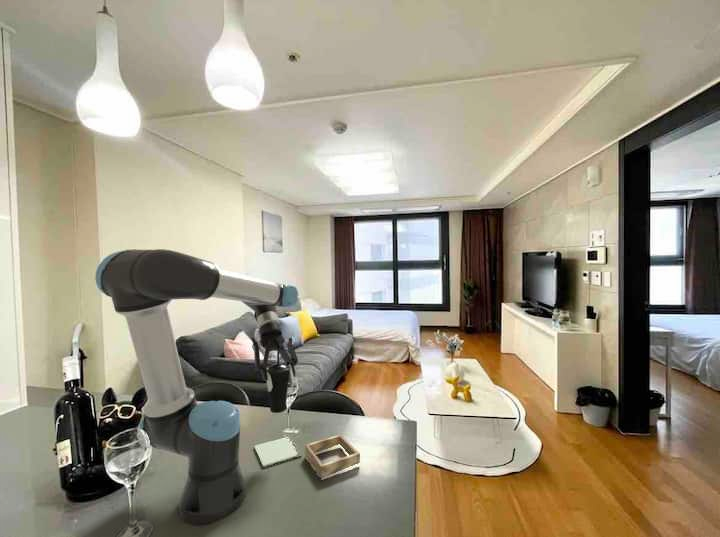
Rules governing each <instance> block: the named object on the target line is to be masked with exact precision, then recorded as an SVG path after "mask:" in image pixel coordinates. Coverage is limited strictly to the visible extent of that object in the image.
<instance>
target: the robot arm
mask: <svg viewBox="0 0 720 537" xmlns="http://www.w3.org/2000/svg"><path fill="white" fill-rule="evenodd" d="M94 278H95V284H96V286H97V288H98V290H99V291H100V292H101V293H102V294H104V295H105V296H107V297H110V298H111V300H112V304H113V307H114V311H115V313H116V314H120V315H122V316H123V317H125V319H126V323H127V327H128V330H129V334H130V337H131V342H132V344H133V350H134V353H135V355H136V360H137V363H138V367H139V370H140V374H141V377H142V382H143V384H144V389H145V393H146V396H147V399H148V401H147V403H146V404H145V406H144V409H143V414H142V417H143V418H142V420H140V421H139V430H140V429H142V430H144V431H145V432H146V433H147V435H148V437H149V440H150V445H151V446H150V445H149V446H150V447H152V448H154V449H157V450H163V451H166V452H170V453H172V454H176V455H180V456H183V457H186V458H187V459H188V461H187V462H188V463H187V464H188V465H187V471H188V472H187V478H186V481H185V484H184V487H183V490H182V493H181V496H180V498H179V503H178V504H179V505H178V508H179V510H178V512H179V513H178V514H179V517H180V518H181V519H182V521H184V522H185V523H188V524H191V525H206V524H211V523H215V522H218V521H221V520H222V519H225V518H227V517H228V516H230V515H232V514H233V513H234V512H236V510H238V508H240V507H241V505H242V504H243V502H244V500H245V497H246V481H245V478H244V475H243V472H242V470H241V467H240V464H239V463H240V437H241V436H240V434H241V420H240V419H241V418H240V411H239V408H238V407H237V406H236V405H235V404H233V403H231V402H229V401H226V400H217V401H216V400H209V401H204V402H202V403H199V404H198V402H197V399H196V394H195V391H194V390H193V389H192V388H190V387H187V384H186V381H185V377H184V372H183V368H182V364H181V360H180V356H179V352H178V347H177V343H176V340H175V334H174V331H173V326H172V323H171V318H170V314H169V311H168V306H169V304H170V303H171V302H172V301H173V300H200V301H205V300H209V299H210V298H215V299H224V300H231V301H236V302H237V301H238V302H242V303H243V304H244V305H245V306H247V307H248V308H250V309H251V310H252V311H253V312H254V313H255V316H256V321H257V322H256V323H257V327H258V328H257V329H258V332H259V333H258V334H259V338H260V340H259V341H253V343H252V345H251V348H252V349H253V350H252V351H253V352H254V353H253V354H254V355H253V357H254V367H255V368H254V370H255V372H260V373H261V376H262V380H263V381H264V382H266V386H267V391H268V393H269V391H271V390H272V387H273V386H272V381H271V376H270V374H269V373H268V372H267V371H266V368H267V367H268V366H267V365H268V360H269V355H270V352H273V351H275V352H277V348H279V356H281V358H282V359H283V361H284V362H285V363H284V364H286V365H288V366H290V370H289V379H288V383H289V386H290V388H293V387H294V386H295V384H296V381H295V378H294V377H295V376H296V370H295V367H296V366H297V365H298V363H299V359H298V356H297V353H296V350H295V348H294V344H293V338H292V337H289V338H285V337H284V336H283V332H282V328H281V325H280V324H281V322H280V320H279V319H280V318H279V314H278V311H277V307H280V308H291V307H294V306H295V305H296V304H297V302H298V300H299V299H298V298H299V292H298V289H297V286H295V285H293V284H282V283H277V282H274V281H269V280H266V279H261V278H259V277H253V276H251V275H247V274H243V273H238V272H235V271H231V270H227V269H223V268H219V266H218V265H217V264H216V263H214V262H212V261H208V260H205V259H201V258H199V257H196V256H193V255H189V254H185V253H184V252H183V253H182V252H178V251H175V250H171V249H160V248H159V249H157V248H155V249H134V248H133V249H125V250H120V251H116V252H112V253H111V254H108V255H107V256H105V258H103V259H102V261H101V262H100V263H99V264H98V266H97V269H96V271H95V277H94ZM284 344H285V346H286V347H287V350H286V349H285V346H284ZM261 347H262V348H263V349H264V356H263V360H262V365H261V357H260V356H261V355H260V348H261ZM268 369H269V368H267V370H268ZM232 512H233V513H232ZM229 514H230V515H229ZM224 517H225V518H224Z"/></svg>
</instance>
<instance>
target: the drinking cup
mask: <svg viewBox="0 0 720 537" xmlns="http://www.w3.org/2000/svg"><path fill="white" fill-rule="evenodd" d="M267 368H269V369H268V370H267ZM289 370H290V366H288V365H287V364H286V363H283V362H280V353H279V348H277V351H276V363H273V364H271V365H269V366H267V367H266V371H267V372H268V373H269V374H270V376H271V381H272V386H273V387H272V390H271V391H269V392H268V397H269V408H270V409H269V410H270V412H271V413H273V414H278V413H280V414H281V413H283V412H284V411H286V408H287V399H288V390H289V389H288V388H289Z"/></svg>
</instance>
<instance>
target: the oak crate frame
mask: <svg viewBox="0 0 720 537" xmlns="http://www.w3.org/2000/svg"><path fill="white" fill-rule="evenodd" d="M338 444H340V445H341V446H342V447H343V448H344V449H345V451H346V452H347V453H348V454H349V456H346V455H345V456H343V457H340V458H338V459H335V460H332V461H331V460H330V461H329V462H326V463H322V461H321V459H320V458H319V457H318V455H317V456H316V455H315V453H316V452H319V451H321V450H324V449H328V448H331V447H333V446H335V445H338ZM305 455H306V457H307V458H308V460H309V461H310V462H311V464H312V465H313V467H314V468H315V470H316V472H317V473H318V475H319V476H320V478H321V479H322V478H324V477H327V476H329V475H331V474H334V473H336V472H338V471H341V470H343V469H345V468H348V467H350V466H353V465H355V464H358V463H360V464H361V453H360V452H359V451H358V450H357V449H356V448H355V447H354V446H353V445H352V444H351V443H350V442H349V441H348V440H347V439H346V438H345V437H344V436H343V435H342V434H338V435H335V436H331V437H328V438H324V439H321V440H316V441H314V442H311V443H307V444H304V456H305Z"/></svg>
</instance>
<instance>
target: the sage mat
mask: <svg viewBox="0 0 720 537" xmlns="http://www.w3.org/2000/svg"><path fill="white" fill-rule="evenodd" d="M288 437H289V436H286V437H282V438H279V439H278V438H277V439H275V440H271V441H266V442H263V443H261V444H260V443H259V444H256V445H253V448H254V447H255V449H254V451H255V450H256V451H255V453H256V452H257V454H258V456H259V458H260V460H259V462H260V461H261V463H262V465H263V466H266V465H269V464H272V463H275V462H278V461H281V460H284V459H287V458H291V457H293V456H296V455H297V453H298V452H296V450H295V449H296V448H295V447H294V446H293V445H292V444H293V443H292V441H293V440H292V441H290V439H289V438H288ZM287 438H288V439H287ZM289 441H290V442H289ZM294 448H295V449H294ZM257 454H256V455H257ZM258 456H257V457H258ZM259 458H258V459H259ZM261 463H260V464H261ZM262 465H261V466H262Z"/></svg>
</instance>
